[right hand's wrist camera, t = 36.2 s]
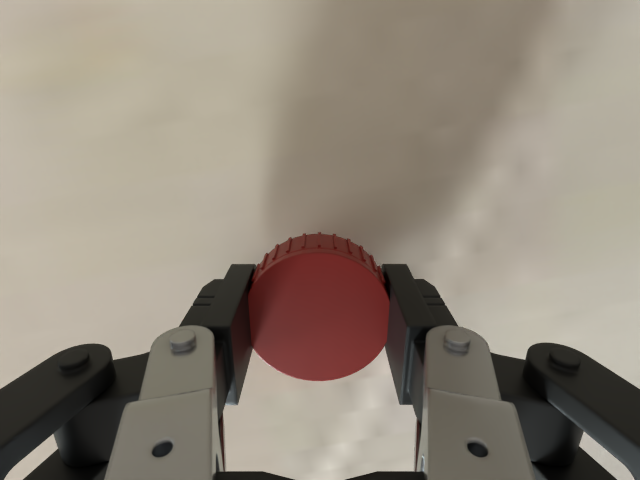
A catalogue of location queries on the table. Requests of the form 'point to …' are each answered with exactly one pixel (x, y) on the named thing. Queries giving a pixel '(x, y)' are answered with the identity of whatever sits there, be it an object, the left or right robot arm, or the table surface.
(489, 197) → the table surface
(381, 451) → the table surface
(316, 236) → the cap
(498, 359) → the right robot arm
